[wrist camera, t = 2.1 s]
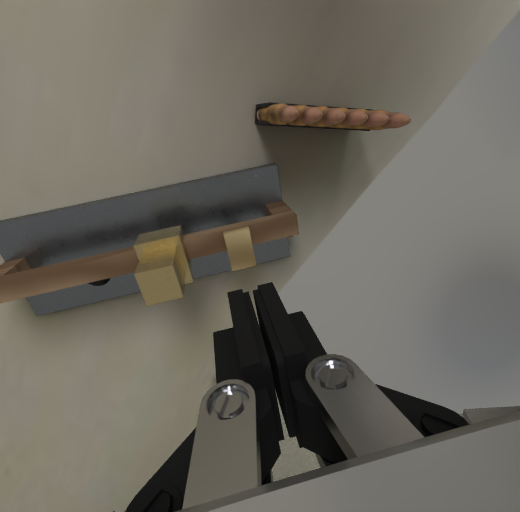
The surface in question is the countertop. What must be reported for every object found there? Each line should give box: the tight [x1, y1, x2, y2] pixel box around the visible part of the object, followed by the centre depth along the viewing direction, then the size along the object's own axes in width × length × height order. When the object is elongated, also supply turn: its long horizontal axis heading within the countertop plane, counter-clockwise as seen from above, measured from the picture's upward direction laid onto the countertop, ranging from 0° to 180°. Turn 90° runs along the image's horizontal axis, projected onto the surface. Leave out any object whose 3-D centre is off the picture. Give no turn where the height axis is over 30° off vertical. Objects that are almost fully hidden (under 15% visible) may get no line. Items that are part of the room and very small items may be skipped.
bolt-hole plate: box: [0, 163, 290, 316], centre depth 35 cm, size 11×30×1 cm, turn 100°
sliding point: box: [134, 225, 194, 306], centre depth 30 cm, size 5×4×11 cm
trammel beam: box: [0, 201, 299, 303], centre depth 32 cm, size 4×30×7 cm, turn 100°
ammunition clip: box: [255, 103, 411, 131], centre depth 28 cm, size 11×2×12 cm, turn 87°
